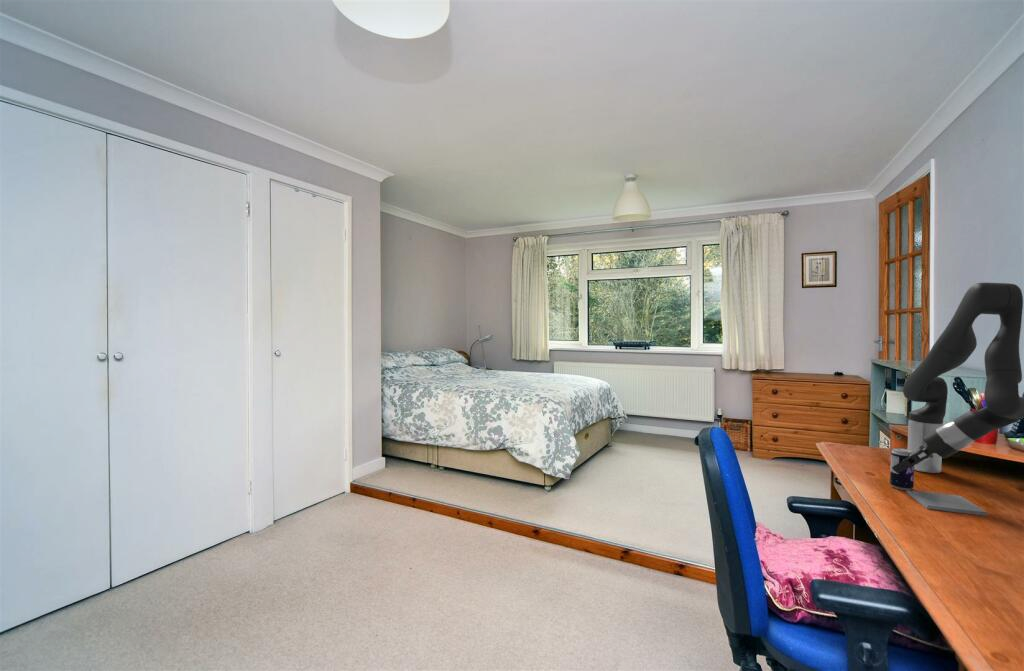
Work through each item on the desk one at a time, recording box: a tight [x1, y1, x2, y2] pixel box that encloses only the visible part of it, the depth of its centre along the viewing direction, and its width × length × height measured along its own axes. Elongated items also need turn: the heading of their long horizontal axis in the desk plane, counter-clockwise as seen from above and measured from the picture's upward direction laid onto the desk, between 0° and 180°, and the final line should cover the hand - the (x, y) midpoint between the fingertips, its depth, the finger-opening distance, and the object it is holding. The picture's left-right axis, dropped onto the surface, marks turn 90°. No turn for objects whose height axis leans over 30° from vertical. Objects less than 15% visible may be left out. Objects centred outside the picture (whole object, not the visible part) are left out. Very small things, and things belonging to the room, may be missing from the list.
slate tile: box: [906, 489, 988, 517], centre depth 135 cm, size 13×13×1 cm
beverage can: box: [889, 447, 915, 491], centre depth 147 cm, size 6×6×12 cm
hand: (898, 467), depth 148 cm, fingers open, 8 cm apart
